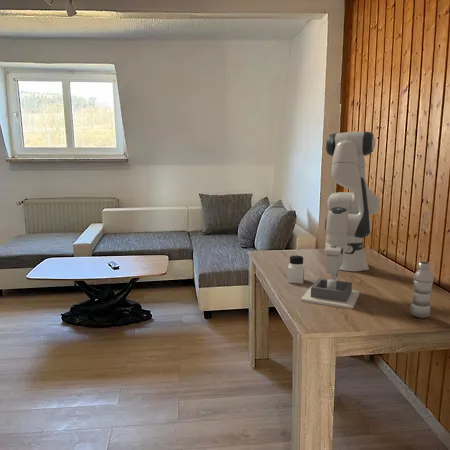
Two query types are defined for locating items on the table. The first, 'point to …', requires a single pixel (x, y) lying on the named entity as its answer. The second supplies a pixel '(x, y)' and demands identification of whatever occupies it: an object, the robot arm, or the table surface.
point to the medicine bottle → (296, 269)
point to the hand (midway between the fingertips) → (334, 278)
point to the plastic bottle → (422, 291)
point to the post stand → (332, 285)
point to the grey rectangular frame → (331, 290)
